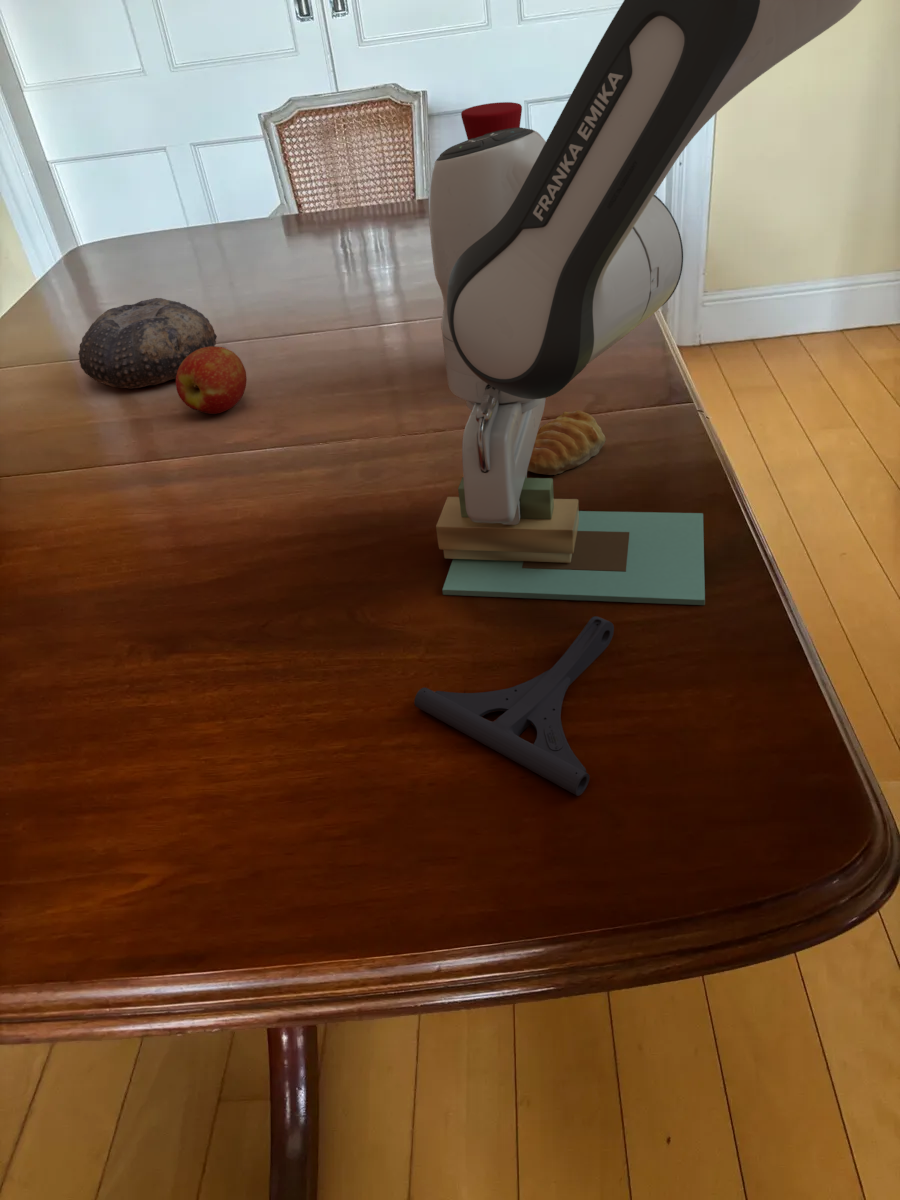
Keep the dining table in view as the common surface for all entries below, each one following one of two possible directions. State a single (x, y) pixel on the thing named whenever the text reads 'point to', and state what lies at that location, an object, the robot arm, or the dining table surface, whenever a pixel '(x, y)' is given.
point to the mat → (603, 564)
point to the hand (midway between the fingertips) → (513, 509)
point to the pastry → (566, 443)
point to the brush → (513, 528)
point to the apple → (211, 380)
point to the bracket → (527, 712)
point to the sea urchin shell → (143, 342)
